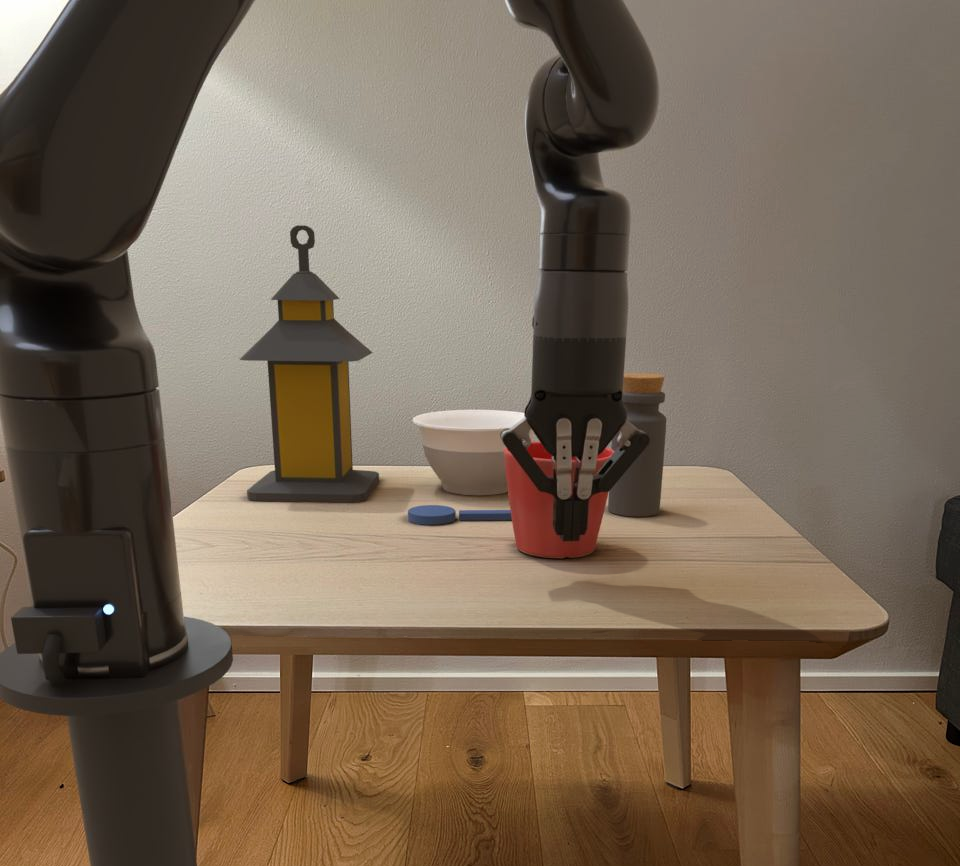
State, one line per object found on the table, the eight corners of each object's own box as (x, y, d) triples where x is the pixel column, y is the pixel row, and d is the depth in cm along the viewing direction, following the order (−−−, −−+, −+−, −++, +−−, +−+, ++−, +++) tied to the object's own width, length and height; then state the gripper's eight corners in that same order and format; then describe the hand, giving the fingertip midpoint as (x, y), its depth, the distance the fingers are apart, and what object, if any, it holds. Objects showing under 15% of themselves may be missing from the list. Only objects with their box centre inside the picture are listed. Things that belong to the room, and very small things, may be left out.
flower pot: (600, 533, 101) (605, 439, 97) (619, 563, 91) (625, 459, 87) (498, 534, 100) (500, 439, 97) (506, 564, 90) (507, 460, 87)
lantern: (273, 476, 127) (256, 227, 116) (380, 478, 126) (372, 228, 116) (244, 500, 114) (222, 222, 103) (363, 502, 113) (353, 223, 103)
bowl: (467, 508, 111) (467, 432, 108) (388, 485, 123) (386, 416, 119) (567, 490, 120) (570, 420, 117) (485, 470, 132) (486, 406, 129)
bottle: (651, 519, 107) (662, 379, 101) (600, 513, 109) (608, 376, 104) (665, 508, 112) (676, 374, 106) (616, 503, 114) (624, 371, 109)
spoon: (564, 512, 110) (564, 503, 109) (571, 523, 105) (571, 514, 104) (408, 513, 108) (407, 505, 108) (407, 525, 104) (407, 516, 103)
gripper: (502, 333, 75) (497, 551, 81) (672, 335, 76) (654, 550, 82) (494, 327, 82) (490, 529, 88) (649, 329, 83) (634, 528, 89)
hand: (569, 539), depth 85 cm, fingers closed
